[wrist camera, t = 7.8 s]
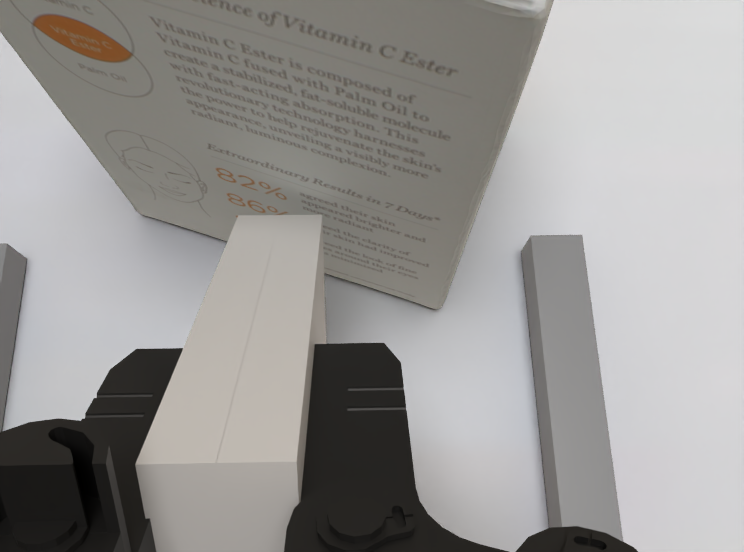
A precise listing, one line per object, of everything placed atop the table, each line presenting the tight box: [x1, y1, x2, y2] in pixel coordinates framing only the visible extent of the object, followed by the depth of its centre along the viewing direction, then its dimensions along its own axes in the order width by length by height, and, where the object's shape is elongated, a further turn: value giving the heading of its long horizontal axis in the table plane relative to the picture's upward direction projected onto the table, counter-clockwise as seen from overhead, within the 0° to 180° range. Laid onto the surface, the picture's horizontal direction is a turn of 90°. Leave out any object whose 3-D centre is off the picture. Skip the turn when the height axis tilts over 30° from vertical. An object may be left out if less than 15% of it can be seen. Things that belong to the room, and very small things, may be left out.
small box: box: [0, 0, 554, 309], centre depth 13 cm, size 8×6×10 cm
